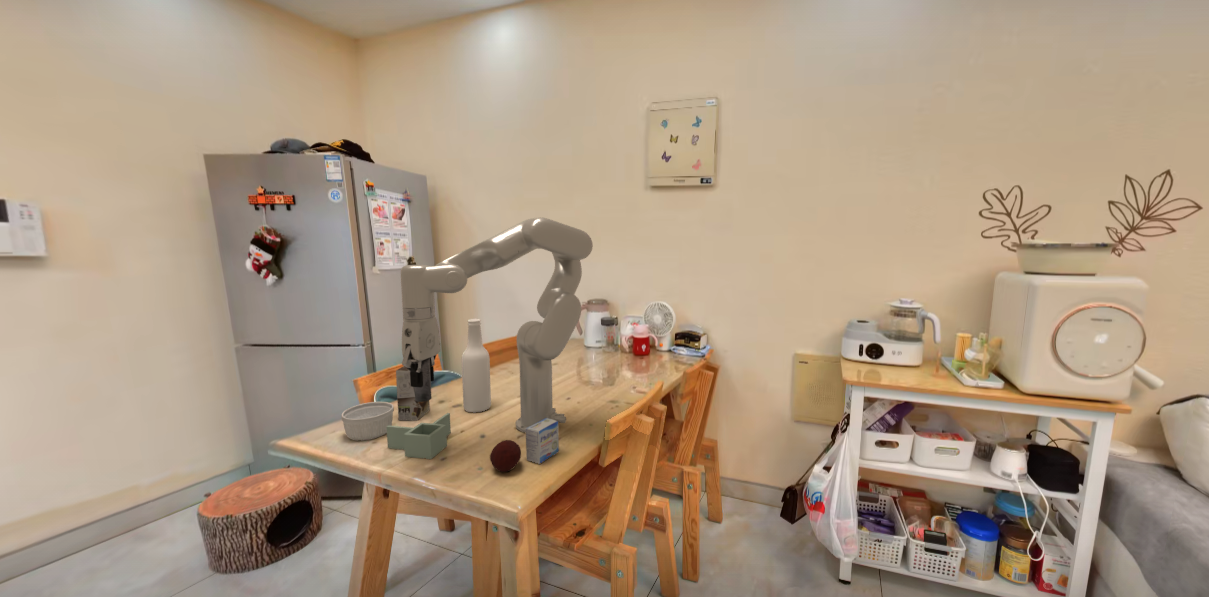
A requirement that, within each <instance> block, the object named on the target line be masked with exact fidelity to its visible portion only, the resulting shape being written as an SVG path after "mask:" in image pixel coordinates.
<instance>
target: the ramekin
mask: <svg viewBox="0 0 1209 597" xmlns="http://www.w3.org/2000/svg"><path fill="white" fill-rule="evenodd" d="M394 410H395V409H394V404H393V403H391V402H387V401H371V402H365V403H360V404H357V405H353V406H351V407H349V408H347V409H345V410H343V412H342V413H341V418H340V419H341V421H342V422H343V423H342V424H343V428H344V432H345V435H346V437H347V438H349V439H350V440H353V441H358V440H361V441H368V440H369V441H370V440H373V439H377V438H380V437H383V436H384V435H387V428H386V427H387V426H388V425H389V426H393V416H394Z"/></svg>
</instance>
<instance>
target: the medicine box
mask: <svg viewBox="0 0 1209 597" xmlns="http://www.w3.org/2000/svg"><path fill="white" fill-rule="evenodd" d="M559 443H560V442H559V422H558V421H556V420H552V419H548V418H545V419H543V420H541V421H539V422H537V423H536V424H534V425H532V426H530V427H528V428H526V433H525V452H526V455H525V456H526V460H527V461H529V462H531V461H532V463H534V462H535V464H537V463H538V465H541V464H543V463H544V462H546V461H547V460H548V458H549V457H550V458H552V457H553V456H555V455H556V454H558V453H559ZM552 455H553V456H552ZM550 458H549V459H550ZM546 459H547V460H546ZM545 460H546V461H545ZM543 461H544V462H543ZM542 462H543V463H542ZM540 463H541V464H540Z"/></svg>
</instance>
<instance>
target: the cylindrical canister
mask: <svg viewBox="0 0 1209 597" xmlns="http://www.w3.org/2000/svg"><path fill="white" fill-rule="evenodd" d="M413 359H414V357H413ZM413 363H414V364H415V365H416V364H417V362H413ZM421 371H422V372H423V387H414V393H415V401H417V402H424V401H428V400H429V401H430V400H432V398H433V397H432V382H431V375H430V358H428V359H425V360H423V361H421Z"/></svg>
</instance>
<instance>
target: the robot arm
mask: <svg viewBox="0 0 1209 597" xmlns="http://www.w3.org/2000/svg"><path fill="white" fill-rule="evenodd" d="M537 249H538V250H540V249H541V250H545V251H547V252H550V253H551V254H552V256H553V259H554V270H553V273H552V275H551V277H550V279H549V281H548V282H547V285H546V286H545V287H544V290H543V292H542V293H541V295H540V297H539V299H538V301H537V306H536V310H537V313H538V314H539V316H540V317H541V318H542V319H543V321H539V320H538V321H537V320H529V321H527V322H525V323H523V324H522V325H521V326H520V328H518V330H517V334H516V348H517V354H518V355H517V356H518V361H519V362H518V363H519V397H520V402H519V403H520V417H519V418H518V419H517V420H516V421H515V428H516V430H518V431H520V432H522V433H525V434H526V428H528V427H530V426H532V425H534V424H536V423H537V422H539V421H541V420H543V419H545V418H548V419H552V420H556V421H558V424H559V423H561V424H566V421H567V416H565V413H557V412H556V408H555V407H553V363H552V360H555V359H557V357H559V356H560V355H561V354H562V353H563V351H564V349H565V348H566V346H567V344H568V342H569V340H570V338H571V336H572V335H573V333H574V331H575V329H576V327H577V325H578V323H579V321H580V318H581V315H582V304H581V301H580V299H579V298H578V297H577V296H576V295H575V294H576V292H577V289H578V288H579V284H580V283H581V279H582V274H583V270H582V262H581V260H582V261H583V260H584V259H587V258H588V257H589V256H590V255H591V253H592V251H593V241H592V238H591V236H590V234H588V232H586V231H584V230H582V229H579V228H577V227H573V226H570V225H567V224H564V223H562V222H558V221H556V220H553V219H550V218H546V217H534V218H528V219H525V220H523V221H521V222H519V223H516V224H515V225H512V226H510V227H508V228H507V229H505V230H503V231H501V232H499V233H498V234H495V235H493V236H491V237H488V239H485V240H483V241H481V242H479V243H477V244H475V245H473V246H471V247H469V248H466V249H464V250H462V251H460V252H458V253H456V254H454V255H452V256H450V257H448V258H446V259H444V260H442V261H440V262H439V263H436V264H435V265H428V264H408V265H403V266H402V267H401V269H400V285H401V286H400V287H401V303H402V307H401V308H402V320H403V322H402V330H401V353H402V361H401V365H402V367H403V366H405V367H406V368H407V369H408V371H409V372H410V383H411V387H423V372H422V371H421V361H423V360H425V359H428V358H430V375H431V383H432V382H434V381H435V373H434V372H435V370H434V368H435V367H434V366H435V360H436V357H437V355H438V354H439V353H440V352H441V336H440V329H439V324H438V319H437V316H436V305H435V293H442V294H457V293H459V292H461V291H463V289H464V288H466V286H467V283H468V279H469V278H472V277H474V276H476V275H478V274H482V273H483V272H487V271H493V270H497V269H500V268H504V267H505V266H508V265H509V264H511V263H513V262H515V261H517V260H518V259H520V258H522V257H523V256H525V255H527V254H529V253H531V252H532V251H534V250H537ZM413 357H414V359H413ZM413 362H417V364H416V365H415V364H414V363H413Z"/></svg>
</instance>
